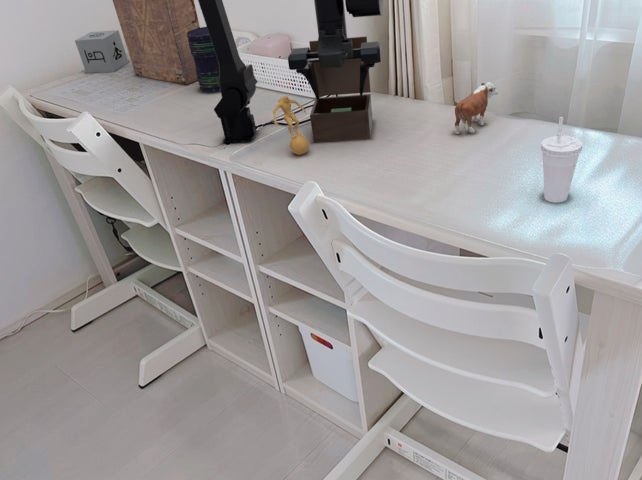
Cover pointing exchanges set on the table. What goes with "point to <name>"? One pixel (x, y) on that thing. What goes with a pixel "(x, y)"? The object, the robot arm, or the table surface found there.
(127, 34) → the book
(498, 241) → the table surface
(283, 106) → the figurine
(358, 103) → the box
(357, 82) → the lid
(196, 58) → the storage jar
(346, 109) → the block
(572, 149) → the smoothie
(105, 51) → the icon cube
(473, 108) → the bull figurine
